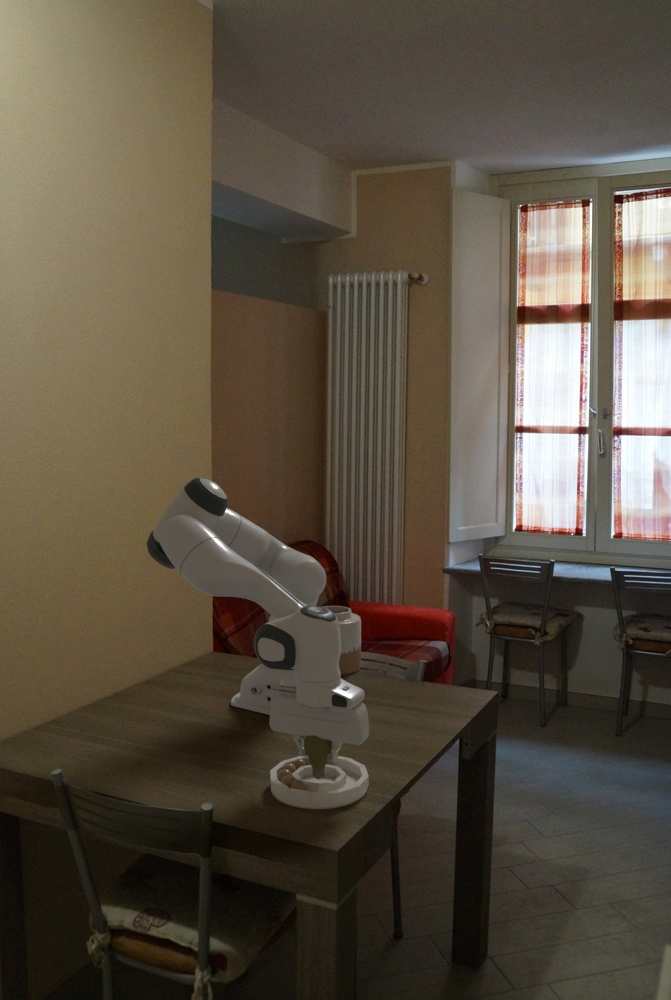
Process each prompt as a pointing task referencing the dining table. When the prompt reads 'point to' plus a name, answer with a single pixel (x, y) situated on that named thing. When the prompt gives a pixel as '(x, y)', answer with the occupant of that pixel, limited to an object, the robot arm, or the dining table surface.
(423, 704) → the dining table surface
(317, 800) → the bead tray
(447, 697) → the dining table surface
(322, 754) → the light bulb
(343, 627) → the vase
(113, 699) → the dining table surface
